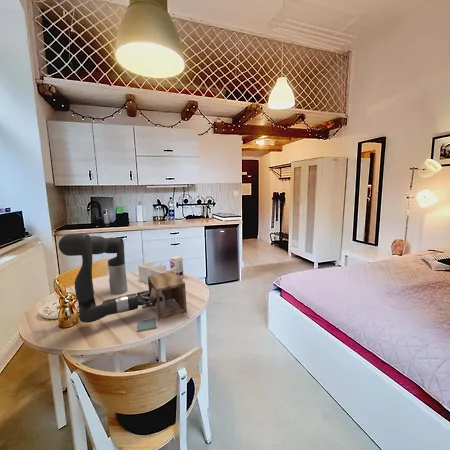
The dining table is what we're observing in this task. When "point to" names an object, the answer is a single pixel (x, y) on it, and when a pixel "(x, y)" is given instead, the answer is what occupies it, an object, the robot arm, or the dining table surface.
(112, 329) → the dining table surface
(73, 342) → the dining table surface
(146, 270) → the storage container
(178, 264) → the supplement can
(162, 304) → the tea bag
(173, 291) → the hutch
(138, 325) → the mat
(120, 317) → the dining table surface
